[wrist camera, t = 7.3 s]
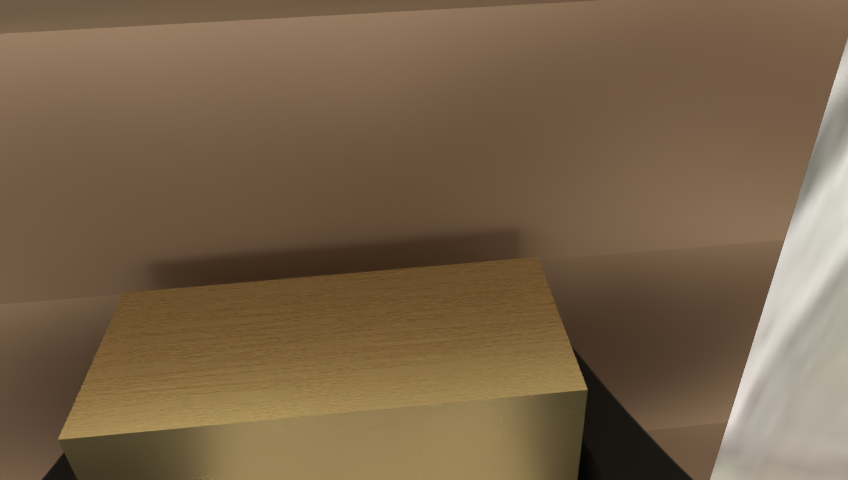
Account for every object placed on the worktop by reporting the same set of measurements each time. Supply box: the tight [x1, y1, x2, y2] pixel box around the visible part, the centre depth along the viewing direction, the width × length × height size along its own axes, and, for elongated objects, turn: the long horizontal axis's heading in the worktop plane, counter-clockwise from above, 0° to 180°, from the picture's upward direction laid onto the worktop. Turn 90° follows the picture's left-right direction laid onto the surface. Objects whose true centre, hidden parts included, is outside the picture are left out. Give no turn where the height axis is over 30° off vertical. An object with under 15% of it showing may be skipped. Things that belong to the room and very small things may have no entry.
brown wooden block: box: [0, 0, 848, 480], centre depth 13 cm, size 12×14×4 cm
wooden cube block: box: [58, 257, 588, 480], centre depth 11 cm, size 6×6×6 cm
